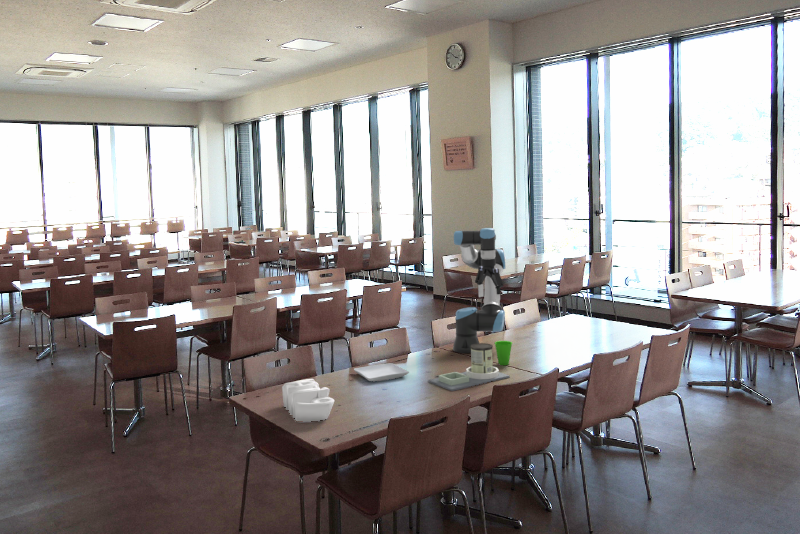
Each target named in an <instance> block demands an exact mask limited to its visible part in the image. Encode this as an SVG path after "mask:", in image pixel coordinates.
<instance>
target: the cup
mask: <svg viewBox="0 0 800 534" xmlns="http://www.w3.org/2000/svg"><path fill="white" fill-rule="evenodd" d="M494 345H495V350H496V351H495V352H496V357H497V363H498V365H499V364H500V366H508V365H510V364H509V363H510V358H511V352H512V345H513V342H512V341H509V340H497V341H495V342H494Z"/></svg>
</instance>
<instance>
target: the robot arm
mask: <svg viewBox="0 0 800 534" xmlns="http://www.w3.org/2000/svg"><path fill="white" fill-rule="evenodd" d="M495 231H496V230H495V229H494V228H492V227H484V228H483V227H482V228H480V230H455V231H454V232H453V244H454V246H459V248H460V251H461V254H460V256H461V257H460V258H461V260H462V261H463V263H464V264H465V265H466V266H468V267H469V268H471V269H475V270H478V271H477V273H476V276H475V277H476V278H475V281H474V283H475V284H477V290H478V298H483V297H484V299H483V300H484V301H483V305H482V306H481V308H480V310H479V309H477V307H474V306H473V307H472V306H470V307H469V306H468V307H463V308H460V309H457V310H456V311H455V339H454V343H453V346H452V351H454V352H456V353H461V354H469V353H470V354H471V345H473V344H478V343H480V341H479V338H478V332H481V333H482V332H485V333H486V332H491V333H497V332H501V331H503V330H504V325H505V319H506V318H505V317H506V312H505V310H503V308H502V306H501V303H500V301H501V288H503V287H504V283H503V280H502V277H501V274H502V273H503V271H504V270H505V269H506V258H505V252H504V250H503V249H501V248H496V239H497V235H496V232H495ZM475 246H480V249H477V248H476V249H475Z"/></svg>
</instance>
